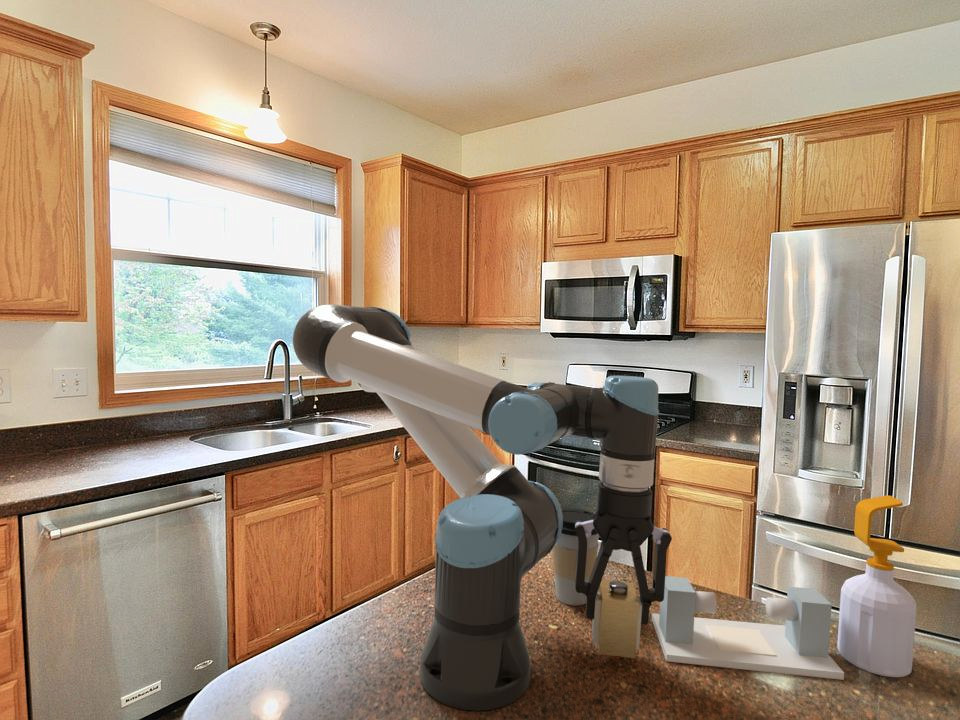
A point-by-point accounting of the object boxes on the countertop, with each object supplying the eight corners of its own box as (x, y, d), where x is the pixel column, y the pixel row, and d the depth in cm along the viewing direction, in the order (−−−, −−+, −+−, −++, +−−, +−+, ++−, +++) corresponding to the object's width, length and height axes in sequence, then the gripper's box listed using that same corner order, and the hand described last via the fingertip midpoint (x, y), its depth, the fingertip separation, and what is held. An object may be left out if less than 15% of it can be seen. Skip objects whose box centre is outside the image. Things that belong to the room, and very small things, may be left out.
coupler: (598, 653, 78) (602, 592, 77) (595, 630, 84) (599, 574, 83) (635, 658, 77) (639, 597, 77) (629, 634, 83) (633, 577, 83)
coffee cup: (606, 595, 100) (610, 513, 100) (587, 616, 92) (590, 528, 92) (558, 581, 105) (561, 503, 105) (536, 600, 98) (539, 516, 97)
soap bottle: (925, 683, 77) (938, 510, 76) (853, 673, 79) (864, 504, 78) (891, 648, 86) (902, 492, 85) (827, 639, 88) (837, 486, 86)
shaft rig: (666, 661, 80) (669, 600, 80) (651, 619, 92) (654, 566, 92) (843, 679, 77) (848, 617, 77) (805, 633, 89) (808, 579, 89)
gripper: (562, 486, 76) (552, 648, 78) (697, 498, 74) (685, 665, 76) (561, 472, 84) (552, 620, 85) (684, 482, 82) (673, 635, 83)
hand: (614, 641), depth 80 cm, fingers closed on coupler, 5 cm apart
